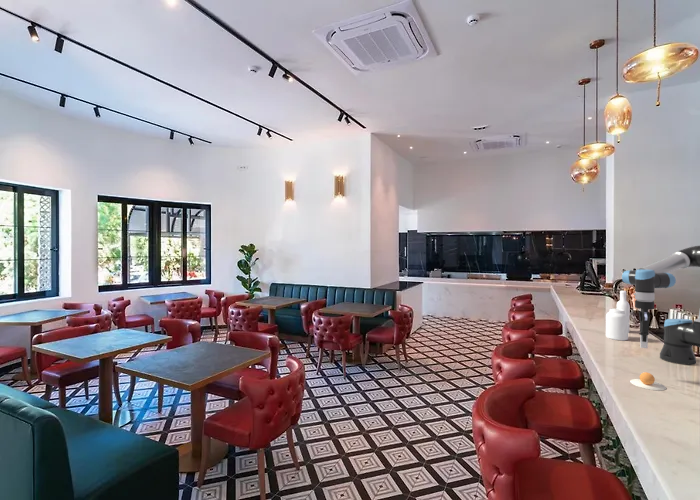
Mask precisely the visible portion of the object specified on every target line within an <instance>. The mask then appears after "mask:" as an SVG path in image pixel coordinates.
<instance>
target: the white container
mask: <svg viewBox="0 0 700 500" xmlns="http://www.w3.org/2000/svg"><path fill="white" fill-rule="evenodd" d="M605 337H606V338H607V339H609V340H613V341H614V340H615V341H628V340H629V333H628V315H627V314H626V313H625V310H623V309H616V308H609V311H608V312H606V314H605Z"/></svg>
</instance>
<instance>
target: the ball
mask: <svg viewBox="0 0 700 500" xmlns="http://www.w3.org/2000/svg"><path fill="white" fill-rule="evenodd" d="M639 379H640V380H641V382H642V383H644V384H646V385H651V384H653V383H654V382H656V379H655V377H654V374H652V373H650V372H645V371H644V372H642V373H641V374H640V375H639Z"/></svg>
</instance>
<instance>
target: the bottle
mask: <svg viewBox="0 0 700 500" xmlns="http://www.w3.org/2000/svg"><path fill="white" fill-rule="evenodd" d="M630 307H631V306H630V303H629V302H628V301H627V291H626V290H619V300H618V301H617V302H616V308H615V309H623V310H625V313H626V314H627V315H628V334H629V333H630V330H631V329H630V317H631V316H630V315H631V313H630V310H631V308H630Z"/></svg>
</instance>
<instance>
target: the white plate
mask: <svg viewBox="0 0 700 500" xmlns="http://www.w3.org/2000/svg"><path fill="white" fill-rule="evenodd" d="M629 381H630V382H629V383H631V384H632V385H634V386H636V387H637V388H640V389H641V388H642V389H645V390H649V391H650V390H651V391H665V390H667V386H665V385H664V384H662V383H660V382H658V381H655V382H654V383H653V384H651V385H646V384H644V383H642V382H641V380H640V378H633V379H630V380H629Z"/></svg>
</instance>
